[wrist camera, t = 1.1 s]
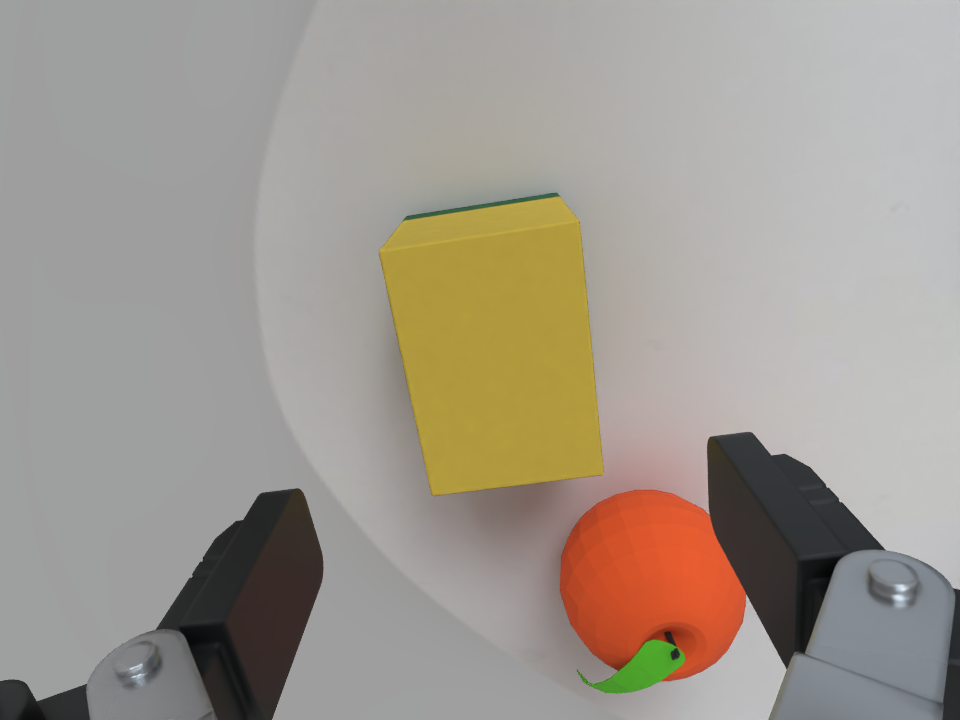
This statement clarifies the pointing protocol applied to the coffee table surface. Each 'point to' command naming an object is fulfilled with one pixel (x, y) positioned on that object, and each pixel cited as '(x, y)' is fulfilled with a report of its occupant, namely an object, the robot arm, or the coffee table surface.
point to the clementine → (650, 589)
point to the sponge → (496, 343)
